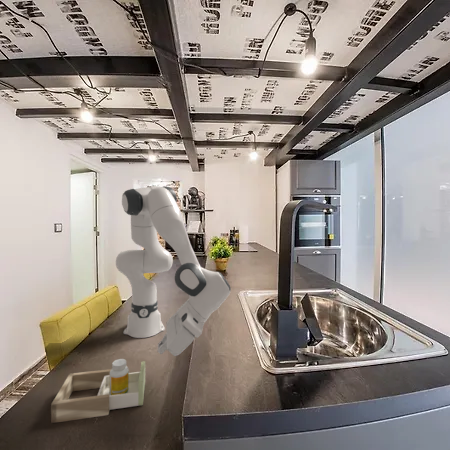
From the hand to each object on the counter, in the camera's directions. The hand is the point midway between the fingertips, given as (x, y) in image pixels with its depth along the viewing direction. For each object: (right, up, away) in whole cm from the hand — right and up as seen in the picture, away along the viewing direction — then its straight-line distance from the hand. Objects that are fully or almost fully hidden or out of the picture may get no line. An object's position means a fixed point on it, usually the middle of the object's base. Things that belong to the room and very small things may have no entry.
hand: (159, 349), depth 82 cm
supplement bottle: (-12, -12, -2) cm, 17 cm away
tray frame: (-20, -13, -4) cm, 24 cm away
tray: (-11, -13, -2) cm, 18 cm away
